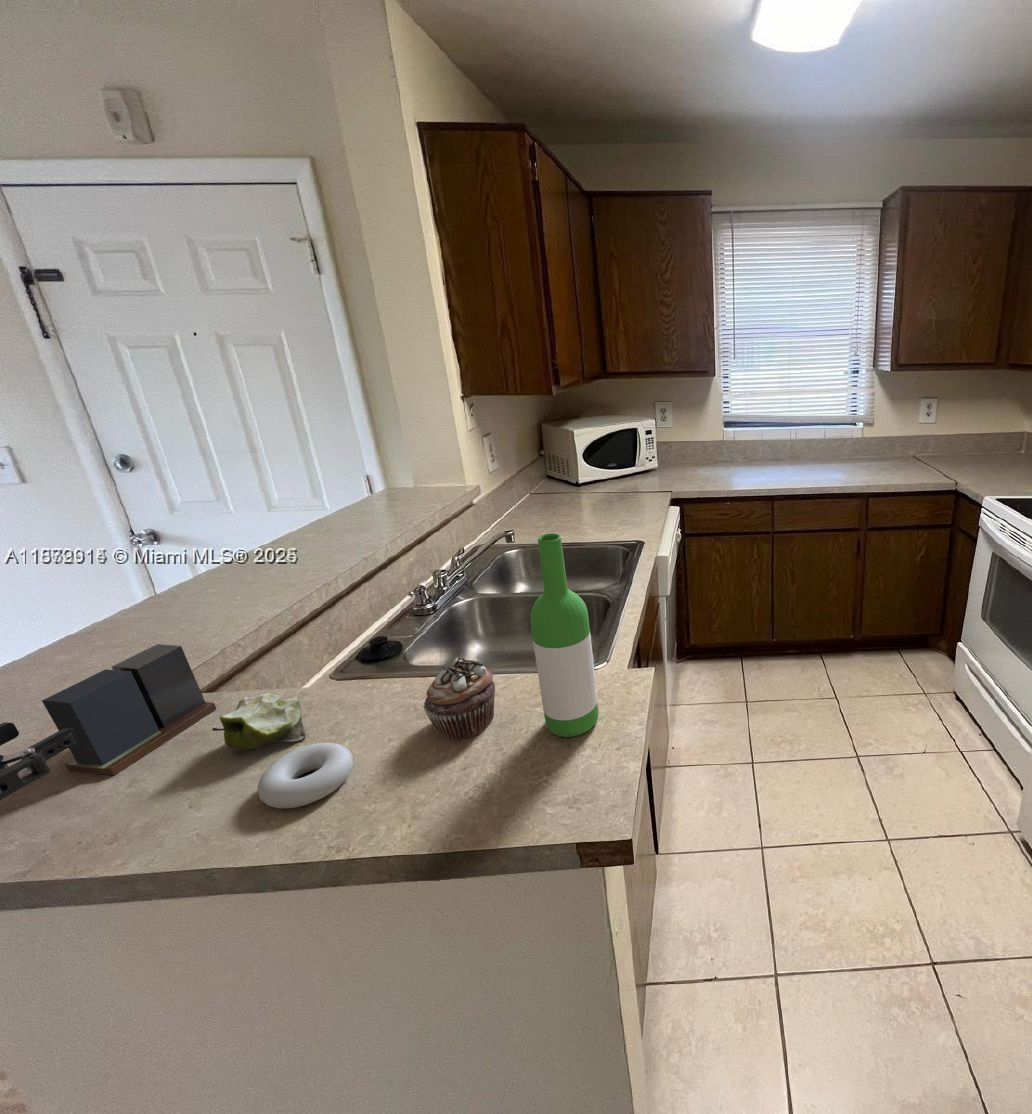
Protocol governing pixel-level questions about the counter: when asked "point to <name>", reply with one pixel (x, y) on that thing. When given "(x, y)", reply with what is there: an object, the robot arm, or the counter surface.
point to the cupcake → (461, 700)
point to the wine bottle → (563, 648)
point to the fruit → (262, 722)
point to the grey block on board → (158, 702)
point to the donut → (290, 792)
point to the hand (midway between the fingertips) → (43, 730)
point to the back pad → (102, 715)
